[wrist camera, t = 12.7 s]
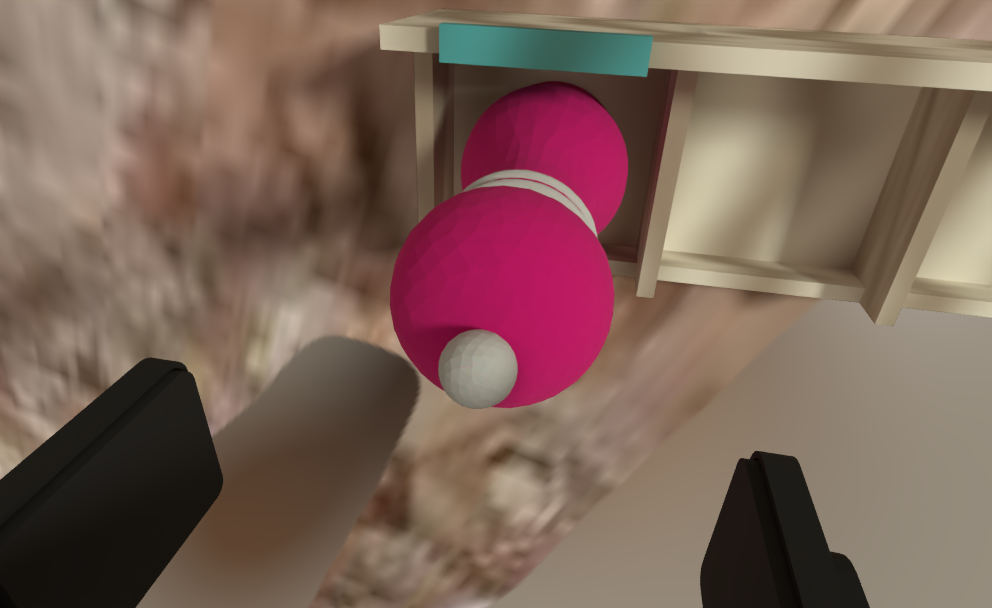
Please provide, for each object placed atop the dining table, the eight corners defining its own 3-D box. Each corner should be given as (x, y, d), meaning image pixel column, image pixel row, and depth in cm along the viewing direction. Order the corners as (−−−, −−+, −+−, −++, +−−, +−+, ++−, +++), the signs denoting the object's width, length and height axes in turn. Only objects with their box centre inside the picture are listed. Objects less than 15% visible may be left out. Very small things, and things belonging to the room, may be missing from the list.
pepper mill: (562, 239, 32) (504, 555, 15) (454, 156, 31) (255, 396, 14) (657, 134, 28) (726, 389, 11) (540, 35, 27) (419, 154, 10)
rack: (443, 233, 34) (390, 316, 26) (441, 4, 28) (372, 19, 20) (1083, 303, 30) (1259, 428, 22) (1243, 50, 24) (1567, 93, 16)
